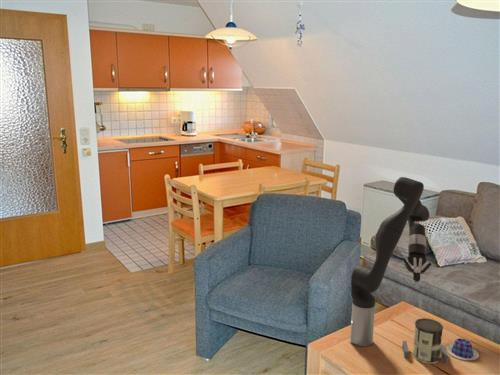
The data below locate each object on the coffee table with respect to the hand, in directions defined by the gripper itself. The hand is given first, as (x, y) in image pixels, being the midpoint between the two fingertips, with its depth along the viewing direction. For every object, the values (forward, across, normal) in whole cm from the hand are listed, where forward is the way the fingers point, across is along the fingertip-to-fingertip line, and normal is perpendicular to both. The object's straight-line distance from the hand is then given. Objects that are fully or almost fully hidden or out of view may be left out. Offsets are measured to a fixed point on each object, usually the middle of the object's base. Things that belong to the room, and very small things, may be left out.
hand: (416, 281), depth 199 cm
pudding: (+28, +18, -2) cm, 33 cm away
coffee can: (+33, +3, -6) cm, 34 cm away
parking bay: (+32, +2, -6) cm, 33 cm away
